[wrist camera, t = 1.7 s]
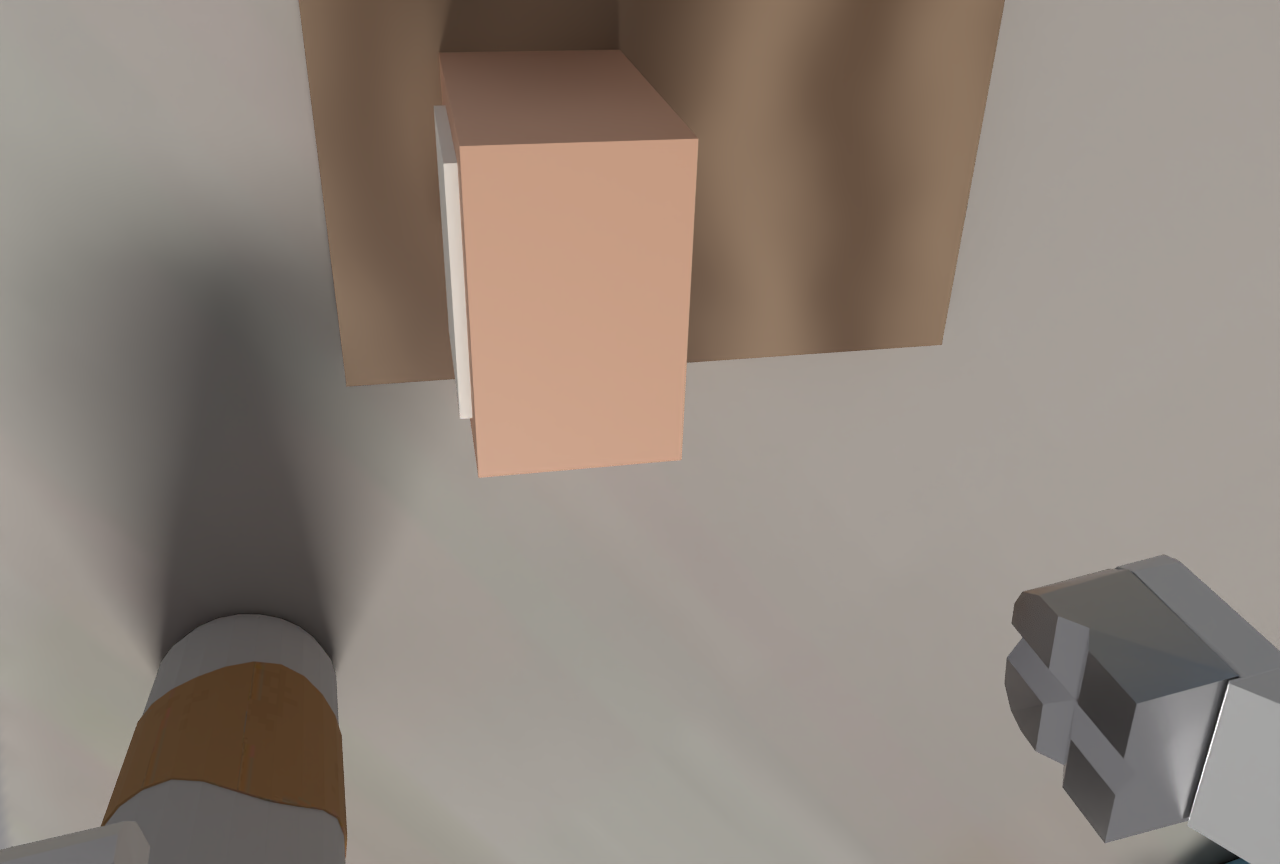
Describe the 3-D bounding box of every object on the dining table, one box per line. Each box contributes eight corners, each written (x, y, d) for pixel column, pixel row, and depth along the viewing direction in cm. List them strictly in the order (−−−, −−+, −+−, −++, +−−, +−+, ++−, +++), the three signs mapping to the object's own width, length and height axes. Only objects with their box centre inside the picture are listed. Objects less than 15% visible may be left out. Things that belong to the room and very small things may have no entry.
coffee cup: (96, 721, 41) (-28, 1136, 29) (180, 556, 38) (84, 937, 26) (308, 774, 45) (281, 1165, 32) (400, 627, 42) (409, 992, 29)
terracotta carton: (619, 49, 31) (698, 138, 23) (615, 311, 35) (681, 460, 27) (427, 52, 30) (444, 146, 22) (446, 321, 34) (466, 478, 26)
